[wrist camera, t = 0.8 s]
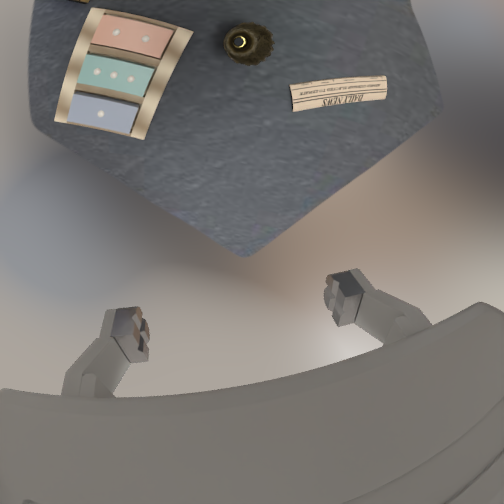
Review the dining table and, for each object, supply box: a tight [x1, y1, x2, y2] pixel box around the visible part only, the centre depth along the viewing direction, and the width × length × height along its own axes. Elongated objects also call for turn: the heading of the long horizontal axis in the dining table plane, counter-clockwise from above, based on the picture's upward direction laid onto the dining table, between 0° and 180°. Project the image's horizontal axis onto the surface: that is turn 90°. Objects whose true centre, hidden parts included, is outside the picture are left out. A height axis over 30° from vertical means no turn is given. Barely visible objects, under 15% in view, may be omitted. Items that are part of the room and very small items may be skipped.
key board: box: [54, 8, 193, 140], centre depth 32 cm, size 21×18×3 cm
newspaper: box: [290, 76, 387, 112], centre depth 47 cm, size 24×7×2 cm, turn 100°
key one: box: [67, 91, 139, 134], centre depth 35 cm, size 5×12×2 cm, turn 60°
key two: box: [91, 15, 173, 58], centre depth 27 cm, size 5×12×2 cm, turn 60°
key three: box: [77, 53, 155, 97], centre depth 31 cm, size 5×12×2 cm, turn 60°
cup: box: [223, 22, 275, 66], centre depth 33 cm, size 8×7×8 cm
